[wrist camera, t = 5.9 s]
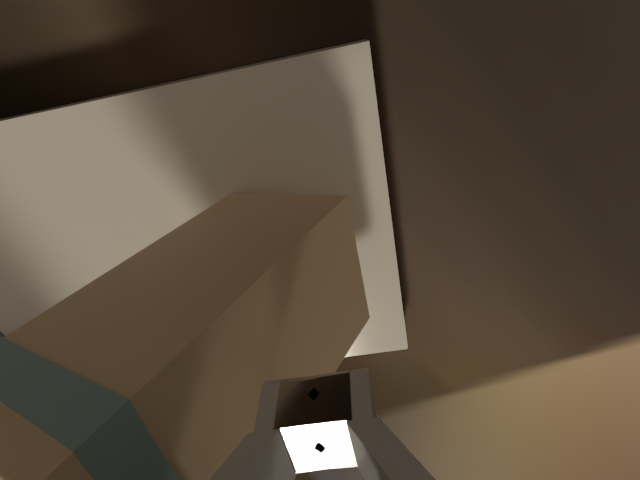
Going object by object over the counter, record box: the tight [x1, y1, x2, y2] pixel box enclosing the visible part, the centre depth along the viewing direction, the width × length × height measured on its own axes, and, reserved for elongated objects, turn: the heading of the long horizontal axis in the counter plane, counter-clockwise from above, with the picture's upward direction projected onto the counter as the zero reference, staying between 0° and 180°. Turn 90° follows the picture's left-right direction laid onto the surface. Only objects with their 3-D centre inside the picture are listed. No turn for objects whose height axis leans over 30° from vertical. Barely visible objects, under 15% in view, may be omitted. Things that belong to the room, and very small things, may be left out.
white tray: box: [0, 39, 408, 357], centre depth 21 cm, size 16×28×2 cm, turn 101°
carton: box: [0, 193, 370, 480], centre depth 14 cm, size 6×6×12 cm
